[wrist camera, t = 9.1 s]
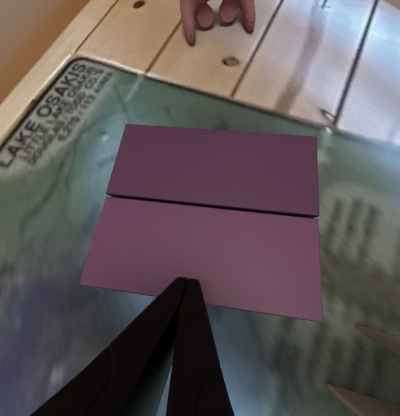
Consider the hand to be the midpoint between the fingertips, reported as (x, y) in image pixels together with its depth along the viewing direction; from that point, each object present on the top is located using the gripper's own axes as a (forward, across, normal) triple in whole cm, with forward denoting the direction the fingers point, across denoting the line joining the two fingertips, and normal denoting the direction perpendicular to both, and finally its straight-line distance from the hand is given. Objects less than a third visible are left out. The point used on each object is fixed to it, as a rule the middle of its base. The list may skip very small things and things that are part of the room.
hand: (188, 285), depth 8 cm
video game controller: (+34, +3, -16) cm, 37 cm away
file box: (+12, 0, +6) cm, 14 cm away
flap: (+4, 0, +1) cm, 4 cm away
